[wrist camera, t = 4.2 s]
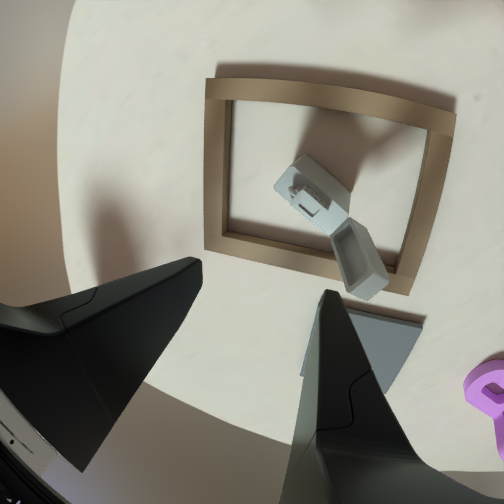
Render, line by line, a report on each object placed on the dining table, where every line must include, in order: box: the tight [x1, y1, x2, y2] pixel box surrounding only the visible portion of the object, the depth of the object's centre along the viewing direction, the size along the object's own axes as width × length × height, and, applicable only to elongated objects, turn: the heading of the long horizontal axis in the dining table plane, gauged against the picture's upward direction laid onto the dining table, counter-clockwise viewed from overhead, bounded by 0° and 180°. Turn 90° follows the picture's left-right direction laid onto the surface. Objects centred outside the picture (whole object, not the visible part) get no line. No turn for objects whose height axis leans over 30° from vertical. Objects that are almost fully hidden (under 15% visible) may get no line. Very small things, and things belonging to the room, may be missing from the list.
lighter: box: [274, 154, 390, 301], centre depth 16 cm, size 7×2×8 cm, turn 55°
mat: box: [300, 302, 423, 394], centre depth 25 cm, size 9×9×1 cm
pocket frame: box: [204, 78, 457, 296], centre depth 19 cm, size 16×13×1 cm
